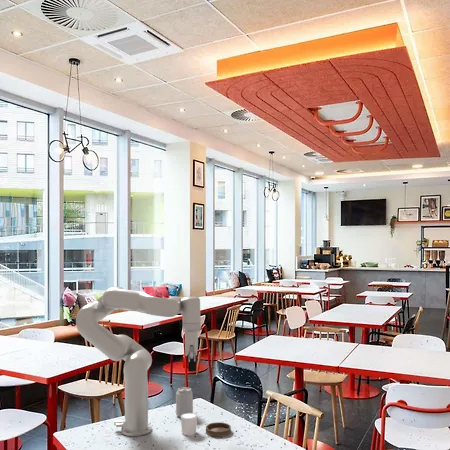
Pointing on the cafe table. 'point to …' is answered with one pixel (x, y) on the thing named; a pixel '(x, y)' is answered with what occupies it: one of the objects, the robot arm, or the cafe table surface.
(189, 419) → the white tapered cylinder
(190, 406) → the can
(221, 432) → the round bowl
